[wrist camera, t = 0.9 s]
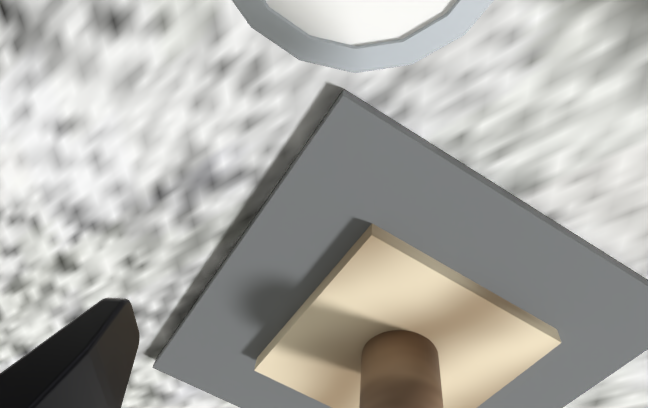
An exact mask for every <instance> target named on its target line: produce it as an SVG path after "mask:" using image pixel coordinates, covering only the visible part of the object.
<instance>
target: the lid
mask: <svg viewBox="0 0 648 408" xmlns="http://www.w3.org/2000/svg"><path fill="white" fill-rule="evenodd" d="M559 344H561V340H560V337H559V334H558V331H557V329H556V328H554V327H552V326H550V325H549V324H547V323H545V322H543V321H542V320H540V319H538V318H536V317H535V316H533V315H531V314H529V313H528V312H526V311H524V310H522V309H521V308H519V307H517V306H515V305H514V304H512V303H510V302H508V301H507V300H505V299H503V298H501V297H500V296H498V295H496V294H494V293H493V292H491V291H489V290H488V289H486V288H484V287H482V286H481V285H479V284H477V283H475V282H474V281H472V280H470V279H468V278H467V277H465V276H463V275H461V274H460V273H458V272H456V271H454V270H453V269H451V268H449V267H447V266H446V265H444V264H442V263H440V262H439V261H437V260H435V259H433V258H432V257H430V256H428V255H426V254H425V253H423V252H421V251H419V250H418V249H416V248H414V247H412V246H411V245H409V244H407V243H406V242H404V241H402V240H400V239H399V238H397V237H395V236H393V235H392V234H390V233H388V232H386V231H385V230H383V229H381V228H379V227H378V226H376V225H374V224H371V225H370V226H369V227H368V229H367V230H366V231H365V232H364V233H363V234H362V236H361V237H360V238H359V239H358V240H357V241H356V243H355V244H354V245H353V246H352V247H351V249H350V250H349V251H348V252H347V253H346V254H345V256H344V257H343V258H342V259H341V260H340V261H339V263H338V264H337V265H336V266H335V267H334V268H333V270H332V271H331V272H330V273H329V274H328V275H327V277H326V278H325V279H324V280H323V281H322V282H321V284H320V285H319V286H318V287H317V288H316V289H315V291H314V292H313V293H312V294H311V295H310V296H309V298H308V299H307V300H306V301H305V302H304V303H303V305H302V306H301V307H300V308H299V309H298V310H297V312H296V313H295V314H294V315H293V316H292V317H291V319H290V320H289V321H288V322H287V323H286V324H285V326H284V327H283V328H282V329H281V330H280V331H279V333H278V334H277V335H276V336H275V337H274V338H273V340H272V341H271V342H270V343H269V344H268V345H267V347H266V348H265V349H264V350H263V351H262V352H261V354H260V355H259V356H258V357H257V360H256V364H255V368H254V371H256V372H258V373H260V374H263V375H265V376H267V377H269V378H271V379H273V380H275V381H277V382H279V383H281V384H284V385H286V386H288V387H290V388H292V389H294V390H296V391H298V392H300V393H302V394H305V395H307V396H309V397H311V398H313V399H315V400H317V401H319V402H321V403H323V404H326V405H328V406H330V407H332V408H477V407H478V406H479V405H481V404H482V403H483V402H485V401H486V400H487V399H489V398H490V397H491V396H492V395H494V394H495V393H496V392H498V391H499V390H500V389H502V388H503V387H504V386H506V385H507V384H508V383H510V382H511V381H512V380H513V379H515V378H516V377H517V376H519V375H520V374H521V373H523V372H524V371H525V370H527V369H528V368H529V367H530V366H532V365H533V364H534V363H536V362H537V361H538V360H540V359H541V358H542V357H544V356H545V355H546V354H548V353H549V352H550V351H551V350H553V349H554V348H555V347H557V346H558V345H559Z"/></svg>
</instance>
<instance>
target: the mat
mask: <svg viewBox="0 0 648 408" xmlns="http://www.w3.org/2000/svg"><path fill="white" fill-rule="evenodd" d="M371 224H374V225H376V226H378V227H379V228H381V229H383V230H385V231H386V232H388V233H390V234H392V235H393V236H395V237H397V238H399V239H400V240H402V241H404V242H406V243H407V244H409V245H411V246H412V247H414V248H416V249H418V250H419V251H421V252H423V253H425V254H426V255H428V256H430V257H432V258H433V259H435V260H437V261H439V262H440V263H442V264H444V265H446V266H447V267H449V268H451V269H453V270H454V271H456V272H458V273H460V274H461V275H463V276H465V277H467V278H468V279H470V280H472V281H474V282H475V283H477V284H479V285H481V286H482V287H484V288H486V289H488V290H489V291H491V292H493V293H494V294H496V295H498V296H500V297H501V298H503V299H505V300H507V301H508V302H510V303H512V304H514V305H515V306H517V307H519V308H521V309H522V310H524V311H526V312H528V313H529V314H531V315H533V316H535V317H536V318H538V319H540V320H542V321H543V322H545V323H547V324H549V325H550V326H552V327H554V328H556V329H557V331H558V334H559V337H560V340H561V344H559V345H558V346H557V347H555V348H554V349H553V350H551V351H550V352H549V353H548V354H546V355H545V356H544V357H542V358H541V359H540V360H538V361H537V362H536V363H534V364H533V365H532V366H530V367H529V368H528V369H527V370H525V371H524V372H523V373H521V374H520V375H519V376H517V377H516V378H515V379H513V380H512V381H511V382H510V383H508V384H507V385H506V386H504V387H503V388H502V389H500V390H499V391H498V392H496V393H495V394H494V395H492V396H491V397H490V398H489V399H487V400H486V401H485V402H483V403H482V404H481V405H479V406H478V407H477V408H563V407H564V406H566V405H567V404H569V403H570V402H571V401H573V400H574V399H576V398H577V397H579V396H580V395H582V394H583V393H585V392H586V391H588V390H589V389H590V388H592V387H593V386H595V385H596V384H598V383H599V382H601V381H602V380H604V379H605V378H607V377H608V376H609V375H611V374H612V373H614V372H615V371H617V370H618V369H620V368H621V367H623V366H624V365H625V364H627V363H628V362H630V361H631V360H633V359H634V358H636V357H637V356H639V355H640V354H642V353H643V352H644V351H646V350H647V349H648V280H647V279H645V278H644V277H642V276H640V275H639V274H637V273H636V272H634V271H632V270H631V269H629V268H628V267H626V266H625V265H623V264H621V263H620V262H618V261H617V260H615V259H613V258H612V257H610V256H609V255H607V254H605V253H604V252H602V251H601V250H599V249H598V248H596V247H594V246H593V245H591V244H590V243H588V242H586V241H585V240H583V239H582V238H580V237H578V236H577V235H575V234H574V233H572V232H570V231H569V230H567V229H566V228H564V227H563V226H561V225H559V224H558V223H556V222H555V221H553V220H551V219H550V218H548V217H547V216H545V215H543V214H542V213H540V212H539V211H537V210H536V209H534V208H532V207H531V206H529V205H528V204H526V203H524V202H523V201H521V200H520V199H518V198H516V197H515V196H513V195H512V194H510V193H509V192H507V191H505V190H504V189H502V188H501V187H499V186H497V185H496V184H494V183H493V182H491V181H489V180H488V179H486V178H485V177H483V176H481V175H480V174H478V173H477V172H475V171H474V170H472V169H470V168H469V167H467V166H466V165H464V164H462V163H461V162H459V161H458V160H456V159H454V158H453V157H451V156H450V155H448V154H447V153H445V152H443V151H442V150H440V149H439V148H437V147H435V146H434V145H432V144H431V143H429V142H427V141H426V140H424V139H423V138H421V137H419V136H418V135H416V134H415V133H413V132H412V131H410V130H408V129H407V128H405V127H404V126H402V125H400V124H399V123H397V122H396V121H394V120H392V119H391V118H389V117H388V116H386V115H385V114H383V113H381V112H380V111H378V110H377V109H375V108H373V107H372V106H370V105H369V104H367V103H365V102H364V101H362V100H361V99H359V98H357V97H356V96H354V95H353V94H351V93H350V92H348V91H346V90H345V89H344V90H343V91H342V93H341V94H340V96H339V97H338V99H337V100H336V101H335V103H334V104H333V106H332V107H331V109H330V110H329V111H328V113H327V114H326V116H325V117H324V119H323V120H322V122H321V123H320V124H319V126H318V127H317V129H316V130H315V132H314V133H313V134H312V136H311V137H310V139H309V140H308V142H307V143H306V145H305V146H304V147H303V149H302V150H301V152H300V153H299V155H298V156H297V157H296V159H295V160H294V162H293V163H292V165H291V166H290V167H289V169H288V170H287V172H286V173H285V175H284V176H283V178H282V179H281V180H280V182H279V183H278V185H277V186H276V188H275V189H274V190H273V192H272V193H271V195H270V196H269V198H268V199H267V200H266V202H265V203H264V205H263V206H262V208H261V209H260V211H259V212H258V213H257V215H256V216H255V218H254V219H253V221H252V222H251V223H250V225H249V226H248V228H247V229H246V231H245V232H244V234H243V235H242V236H241V238H240V239H239V241H238V242H237V244H236V245H235V246H234V248H233V249H232V251H231V252H230V254H229V255H228V256H227V258H226V259H225V261H224V262H223V264H222V265H221V267H220V268H219V269H218V271H217V272H216V274H215V275H214V277H213V278H212V279H211V281H210V282H209V284H208V285H207V287H206V288H205V289H204V291H203V292H202V294H201V295H200V297H199V298H198V300H197V301H196V302H195V304H194V305H193V307H192V308H191V310H190V311H189V312H188V314H187V315H186V317H185V318H184V320H183V321H182V323H181V324H180V325H179V327H178V328H177V330H176V331H175V333H174V334H173V335H172V337H171V338H170V340H169V341H168V343H167V344H166V345H165V347H164V348H163V350H162V351H161V353H160V354H159V356H158V357H157V358H156V361H155V363H154V365H153V368H155V369H157V370H159V371H161V372H163V373H166V374H168V375H170V376H172V377H174V378H177V379H179V380H181V381H183V382H185V383H188V384H190V385H192V386H194V387H196V388H199V389H201V390H203V391H205V392H207V393H210V394H212V395H214V396H216V397H218V398H220V399H223V400H225V401H227V402H229V403H231V404H234V405H236V406H238V407H240V408H332V407H330V406H328V405H326V404H323V403H321V402H319V401H317V400H315V399H313V398H311V397H309V396H307V395H305V394H302V393H300V392H298V391H296V390H294V389H292V388H290V387H288V386H286V385H284V384H281V383H279V382H277V381H275V380H273V379H271V378H269V377H267V376H265V375H263V374H260V373H258V372H256V371H254V368H255V364H256V360H257V357H258V356H259V355H260V354H261V352H262V351H263V350H264V349H265V348H266V347H267V345H268V344H269V343H270V342H271V341H272V340H273V338H274V337H275V336H276V335H277V334H278V333H279V331H280V330H281V329H282V328H283V327H284V326H285V324H286V323H287V322H288V321H289V320H290V319H291V317H292V316H293V315H294V314H295V313H296V312H297V310H298V309H299V308H300V307H301V306H302V305H303V303H304V302H305V301H306V300H307V299H308V298H309V296H310V295H311V294H312V293H313V292H314V291H315V289H316V288H317V287H318V286H319V285H320V284H321V282H322V281H323V280H324V279H325V278H326V277H327V275H328V274H329V273H330V272H331V271H332V270H333V268H334V267H335V266H336V265H337V264H338V263H339V261H340V260H341V259H342V258H343V257H344V256H345V254H346V253H347V252H348V251H349V250H350V249H351V247H352V246H353V245H354V244H355V243H356V241H357V240H358V239H359V238H360V237H361V236H362V234H363V233H364V232H365V231H366V230H367V229H368V227H369V226H370V225H371Z"/></svg>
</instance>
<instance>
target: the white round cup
mask: <svg viewBox="0 0 648 408" xmlns="http://www.w3.org/2000/svg"><path fill="white" fill-rule="evenodd" d="M232 1H233V2H234V4H235V5H236V6H237V8H238V9H239V11H240V12H241V14H242V15H243V16H244V18H245V19H246V21H247V22H248V24H249V25H250V26H251V27H252V28H253V29H255V30H256V31H258V32H259V33H261V34H262V35H263V36H265V37H266V38H268V39H269V40H271V41H272V42H274V43H275V44H277V45H278V46H280V47H281V48H282V49H284V50H285V51H287V52H288V53H290V54H291V55H293V56H294V57H296V58H297V59H299V60H301V61H305V62H310V63H314V64H318V65H323V66H327V67H331V68H335V69H340V70H344V71H348V72H353V73H358V72H365V71H372V70H378V69H385V68H392V67H399V66H405V65H412V64H414V63H415V62H417V61H419V60H421V59H422V58H424V57H426V56H428V55H429V54H431V53H433V52H435V51H437V50H438V49H440V48H442V47H444V46H445V45H447V44H449V43H451V42H452V41H454V40H456V39H458V38H460V37H461V36H463V35H465V34H466V33H467V31H468V30H469V29H470V28H471V27H472V25H473V24H474V23H475V22H476V21H477V20H478V18H479V17H480V16H481V15H482V14H483V12H484V11H485V10H486V9H487V8H488V6H489V5H490V4H491V3H492V2H493V1H494V0H232Z"/></svg>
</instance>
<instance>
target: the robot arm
mask: <svg viewBox="0 0 648 408" xmlns="http://www.w3.org/2000/svg"><path fill="white" fill-rule="evenodd" d="M138 345H139V330H138V327H137V323H136V319H135V316H134V312H133V308H132V305H131V303H130V301H129V300H127V299H123V298H105V299H103V300H101V301H99V302H98V303H97V304H95V305H94V306H92V307H91V308H90V309H88V310H87V311H86V312H84V313H83V314H81V315H80V316H79V317H77V318H76V319H75V320H73V321H72V322H70V323H69V324H68V325H66V326H65V327H64V328H62V329H61V330H59V331H58V332H57V333H55V334H54V335H53V336H51V337H50V338H48V339H47V340H46V341H44V342H43V343H42V344H40V345H39V346H37V347H36V348H35V349H33V350H32V351H31V352H29V353H28V354H26V355H25V356H24V357H22V358H21V359H20V360H18V361H17V362H15V363H14V364H13V365H11V366H10V367H9V368H7V369H6V370H4V371H3V372H2V373H0V408H121V405H122V402H123V398H124V395H125V391H126V388H127V384H128V381H129V377H130V374H131V370H132V367H133V363H134V360H135V356H136V353H137V349H138Z"/></svg>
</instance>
